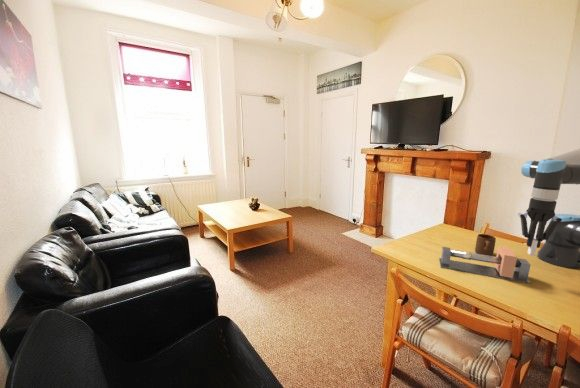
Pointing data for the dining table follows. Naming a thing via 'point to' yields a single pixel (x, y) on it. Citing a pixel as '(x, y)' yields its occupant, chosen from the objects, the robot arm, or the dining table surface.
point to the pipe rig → (445, 262)
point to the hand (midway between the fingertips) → (530, 254)
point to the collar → (506, 262)
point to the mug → (485, 244)
